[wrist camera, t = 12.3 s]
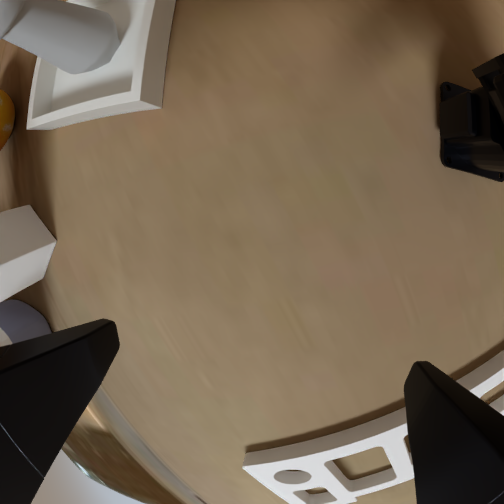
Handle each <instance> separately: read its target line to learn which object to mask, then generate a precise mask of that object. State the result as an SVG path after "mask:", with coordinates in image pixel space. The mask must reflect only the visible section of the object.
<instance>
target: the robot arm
mask: <svg viewBox="0 0 504 504" xmlns="http://www.w3.org/2000/svg"><path fill="white" fill-rule="evenodd" d="M472 71H473V73H474V74H475V76H476V78H478V79H479V80H480V82H481V84H482V86H483V87H480V88H478V89H475V90H472V91H471V90H468V89H466V88H463V87H460V86H458V85H455V84H452V83H449V82H444V83H442V84H441V86H440V89H441V103H440V136H441V138H442V148H441V162H442V164H443V165H444V166H445V167H448V168H452V169H456V170H460V171H464V172H468V173H471V174H475V175H478V176H482V177H485V178H488V179H492V180H495V181H498V182H503V181H504V53H503V54H501V55H499V56H497V57H495V58H493V59H491V60H490V61H488V62H486V63H484V64H482V65H480V66H479V67H477V68H475V69H473V70H472ZM445 86H446V87H448V89H449V91H447V90H446V88H445ZM447 157H448V158H449V163H447V161H446V158H447ZM499 173H500V178H499ZM119 346H120V342H119V337H118V332H117V327H116V324H115V322H114V321H111V320H108V319H99V320H96V321H92V322H89V323H85V324H82V325H78V326H75V327H71V328H68V329H64V330H61V331H57V332H54V333H50V334H46V335H43V336H39V337H35V338H32V339H28V340H24V341H21V342H17V343H13V344H11V345H10V344H9V345H5V346H1V347H0V504H31V502H32V500H33V498H34V497H35V494H36V493H37V491H38V489H39V487H40V485H41V483H42V482H43V480H44V477H45V476H46V474H47V472H48V470H49V469H50V467H51V465H52V463H53V462H54V460H55V458H56V456H57V455H58V453H59V451H60V450H61V448H62V446H63V444H64V443H65V441H66V439H67V438H68V436H69V434H70V433H71V431H72V429H73V428H74V426H75V425H76V423H77V421H78V420H79V418H80V416H81V415H82V413H83V412H84V410H85V408H86V407H87V405H88V404H89V402H90V401H91V399H92V397H93V396H94V394H95V393H96V391H97V390H98V388H99V386H100V385H101V383H102V381H103V379H104V377H105V375H106V373H107V371H108V369H109V367H110V365H111V363H112V362H113V360H114V358H115V356H116V354H117V352H118V350H119ZM404 397H405V407H406V419H407V431H408V438H409V444H410V450H411V457H412V464H413V471H414V479H415V488H416V499H417V504H504V416H503V415H502V414H501V413H499V412H498V411H496V410H495V409H494V408H492V407H491V406H490V405H488V404H487V403H485V402H484V401H483V400H481V399H480V398H478V397H477V396H476V395H474V394H473V393H472V392H470V391H469V390H467V389H466V388H465V387H463V386H462V385H460V384H459V383H458V382H456V381H455V380H453V379H452V378H451V377H449V376H448V375H446V374H445V373H444V372H442V371H441V370H439V369H438V368H437V367H435V366H434V365H432V364H431V363H430V362H428V361H416V362H415V363H414V364H413V366H412V368H411V370H410V372H409V375H408V377H407V379H406V381H405V384H404Z"/></svg>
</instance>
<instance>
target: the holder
mask: <svg viewBox="0 0 504 504" xmlns="http://www.w3.org/2000/svg"><path fill="white" fill-rule="evenodd" d="M502 381H504V350H503V351H501V352H500V353H498V354H497V355H496V356H494V357H493V358H491V359H490V360H488V361H487V362H485V363H484V364H482V365H481V366H479V367H478V368H476V369H475V370H473V371H471V372H470V373H468V374H467V375H465V376H463V377H462V378H460V379H458V380H456V382H458V383H459V384H460V385H462V386H463V387H465V388H466V389H467V390H469V391H470V392H472V393H473V394H474V395H476V396H477V397H478V398H480V397H481V396H482V395H483V394H485V393H486V392H488V391H489V390H491V389H492V388H494V387H495V386H497V385H498V384H499V383H501V382H502ZM489 405H490V406H491V407H492V408H494V409H495V410H496V411H498V412H499V413H501V414H502V415H503V416H504V395H502V396H501V397H499V398H498V399H496V400H495V401H493V402H492V403H490V404H489ZM406 435H408V431H407V419H406V407H403V408H401V409H399V410H397V411H394V412H392V413H390V414H387V415H385V416H382V417H380V418H377V419H374V420H372V421H369V422H366V423H364V424H361V425H358V426H355V427H352V428H349V429H346V430H343V431H340V432H337V433H333V434H330V435H326V436H323V437H319V438H316V439H312V440H308V441H304V442H300V443H296V444H291V445H287V446H282V447H277V448H272V449H266V450H261V451H255V452H248V453H246V454H245V458H244V462H243V466H242V468H243V469H244V470H245V471H247V472H248V473H249V474H250V475H252V476H253V477H254V478H255V479H257V480H258V481H259V482H260V483H262V484H263V485H264V486H266V487H267V488H268V489H270V490H271V491H272V492H274V493H275V494H277V495H278V496H279V497H281V498H282V499H284V500H285V501H286V502H288V503H289V504H348V503H352V502H356V501H357V496H360V495H364V494H368V493H371V492H375V491H378V490H381V489H385V488H388V487H391V486H394V485H397V484H399V483H402V482H405V481H408V480H410V479H413V478H414V471H413V464H412V457H411V453H409V452H408V449H407V446H406V443H405V440H404V437H405V436H406ZM377 446H381V447H383V448H384V450H385V452H386V454H387V456H388V459H389V461H390V463H391V465H392V468H390V469H387V470H384V471H381V472H378V473H375V474H372V475H369V476H366V477H362V478H359V479H355V480H348V479H347V478H346V476H345V475H344V474H343V473H342V472H341V471H340V469H339V468H338V467H337V466H336V465H335V463H334V462H333V461H332V460H334V459H337V458H341V457H345V456H348V455H352V454H355V453H358V452H361V451H364V450H367V449H370V448H373V447H377ZM291 469H292V470H302V471H286V470H291ZM316 487H324V488H325V489H327V490H328V491H329V492H325V493H319V494H309V493H307V492H306V491H305V490H307V489H312V488H316Z"/></svg>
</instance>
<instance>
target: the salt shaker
mask: <svg viewBox="0 0 504 504" xmlns="http://www.w3.org/2000/svg"><path fill="white" fill-rule="evenodd" d="M1 39H4V40H6V41H9V42H11V43H13V44H15V45H17V46H19V47H21V48H23V49H25V50H27V51H29V52H31V53H33V54H35V55H37V56H38V57H40V58H42V59H44V60H45V61H47V62H49V63H51V64H52V65H54V66H56V67H57V68H59V69H61V70H63V71H65V72H67V73H70V74H80V73H84V72H89V71H93V70H95V69H97V68H99V67H101V66H103V65H105V64H107V63H109V62H110V61H111V59H112V57H113V56H114V54H115V52H116V51H117V49H118V47H119V46H120V40H119V36H118V32H117V28H116V23H115V22H114V20H113V19H112V17H111V16H110V15H109V14H108V13H107V12H104V11H101V10H97V9H94V8H90V7H86V6H82V5H78V4H74V3H69V2H64V1H60V0H0V40H1Z"/></svg>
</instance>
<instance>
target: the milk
mask: <svg viewBox="0 0 504 504" xmlns="http://www.w3.org/2000/svg"><path fill="white" fill-rule="evenodd" d="M56 242H57V241H56V239H55V238H54V237H53V235H52V234H51V233H50V232H49V230H48V229H47V228H46V226H45V225H44V224H43V222H42V221H41V220H40V218H39V217H38V216H37V214H36V213H35V211H34V210H33V209H32V207H31V206H30V205H25V206H21V207H18V208H14V209H10V210H6V211H3V212H0V302H2V301H4V300H5V299H7V298H9V297H10V296H12V295H14V294H16V293H17V292H19V291H21V290H23V289H25V288H26V287H28V286H30V285H32V284H34V283H36V282H37V281H39V280H41V279H43V278H44V275H45V272H46V269H47V266H48V263H49V261H50V258H51V255H52V252H53V250H54V247H55V245H56Z"/></svg>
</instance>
